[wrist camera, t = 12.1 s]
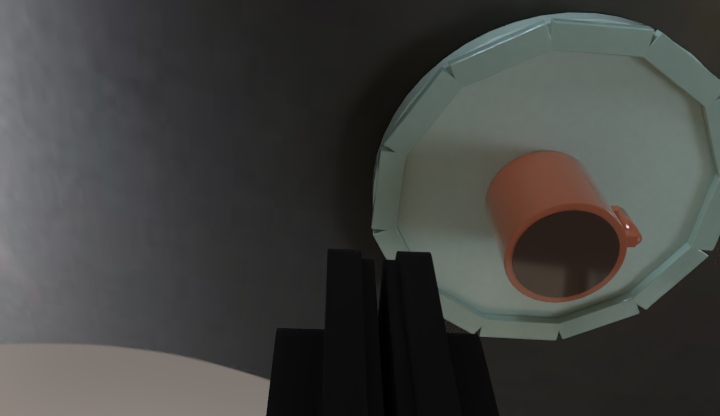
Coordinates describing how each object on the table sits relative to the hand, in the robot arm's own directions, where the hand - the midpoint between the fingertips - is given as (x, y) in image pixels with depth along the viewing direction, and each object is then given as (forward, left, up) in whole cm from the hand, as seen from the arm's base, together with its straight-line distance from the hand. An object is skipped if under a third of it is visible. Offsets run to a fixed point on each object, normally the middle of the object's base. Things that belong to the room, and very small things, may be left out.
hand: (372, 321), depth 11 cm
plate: (+16, -3, -25) cm, 30 cm away
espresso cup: (+16, -3, -24) cm, 29 cm away
